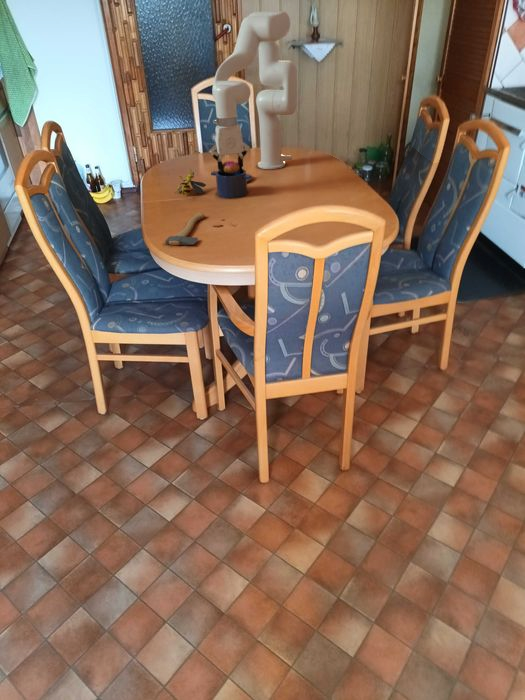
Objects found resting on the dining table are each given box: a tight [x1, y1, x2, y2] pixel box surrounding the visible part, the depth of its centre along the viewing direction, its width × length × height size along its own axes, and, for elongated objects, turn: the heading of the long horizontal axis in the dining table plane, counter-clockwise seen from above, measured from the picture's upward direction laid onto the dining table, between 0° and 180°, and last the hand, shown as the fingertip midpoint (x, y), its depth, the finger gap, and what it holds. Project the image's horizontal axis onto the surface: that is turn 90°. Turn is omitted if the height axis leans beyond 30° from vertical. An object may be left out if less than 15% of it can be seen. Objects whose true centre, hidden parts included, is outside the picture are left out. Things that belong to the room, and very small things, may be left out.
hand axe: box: [165, 212, 205, 246], centre depth 182 cm, size 27×2×10 cm
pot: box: [210, 168, 253, 199], centre depth 210 cm, size 12×17×8 cm
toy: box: [174, 169, 207, 196], centre depth 211 cm, size 12×8×15 cm
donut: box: [222, 160, 240, 174], centre depth 207 cm, size 7×7×4 cm
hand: (230, 169), depth 207 cm, fingers closed on donut, 7 cm apart
